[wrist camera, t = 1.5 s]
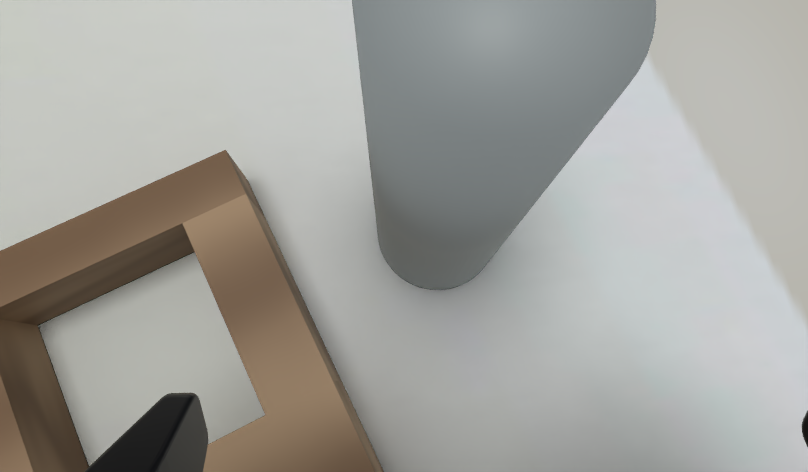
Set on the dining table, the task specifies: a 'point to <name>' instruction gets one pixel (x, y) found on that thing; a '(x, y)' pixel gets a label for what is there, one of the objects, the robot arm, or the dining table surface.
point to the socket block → (237, 300)
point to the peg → (481, 115)
